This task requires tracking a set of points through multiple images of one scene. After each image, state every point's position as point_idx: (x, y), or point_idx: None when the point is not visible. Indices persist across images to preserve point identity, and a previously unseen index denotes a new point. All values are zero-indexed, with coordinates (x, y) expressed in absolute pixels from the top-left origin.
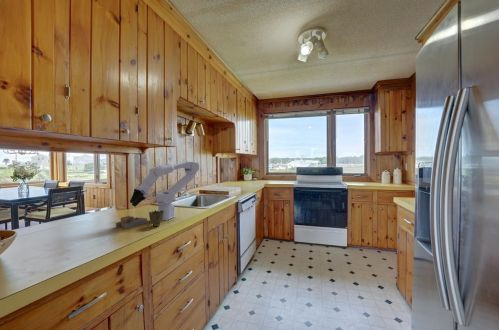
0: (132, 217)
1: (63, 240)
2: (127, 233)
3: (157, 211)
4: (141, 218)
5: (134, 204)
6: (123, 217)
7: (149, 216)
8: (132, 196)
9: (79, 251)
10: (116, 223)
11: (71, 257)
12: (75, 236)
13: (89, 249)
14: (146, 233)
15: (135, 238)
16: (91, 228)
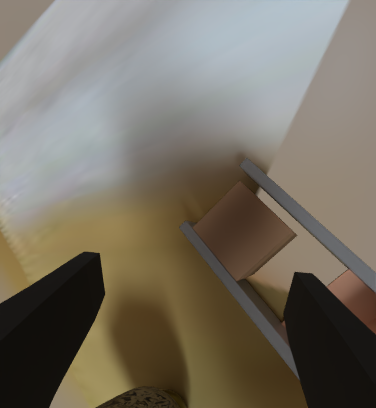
0: (227, 269)
1: (138, 28)
2: (114, 245)
3: None
4: None
5: (295, 315)
6: (241, 199)
7: (125, 398)
8: (3, 307)
9: (29, 137)
10: (242, 164)
11: (7, 136)
12: (170, 40)
13: (30, 156)
14: None
15: None
16: (294, 31)
